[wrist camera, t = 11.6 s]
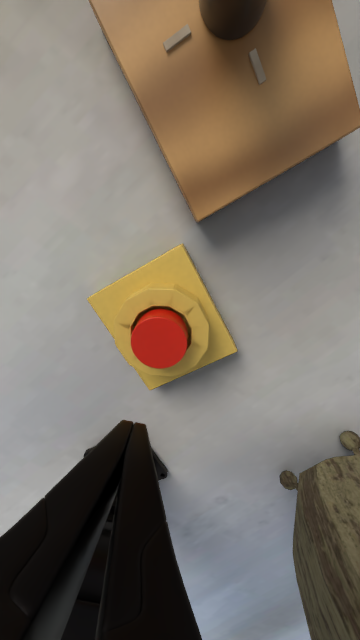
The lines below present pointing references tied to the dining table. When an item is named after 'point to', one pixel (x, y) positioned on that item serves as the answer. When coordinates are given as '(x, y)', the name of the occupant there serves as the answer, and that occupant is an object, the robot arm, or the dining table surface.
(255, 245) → the dining table surface
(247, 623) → the dining table surface
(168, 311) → the button
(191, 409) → the dining table surface
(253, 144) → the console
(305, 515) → the tabletop clock
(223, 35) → the knob
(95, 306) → the button box
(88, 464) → the robot arm
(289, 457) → the dining table surface
